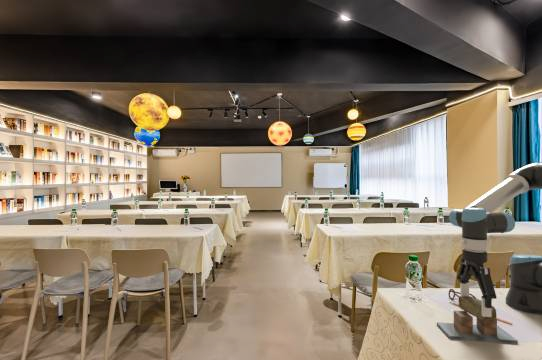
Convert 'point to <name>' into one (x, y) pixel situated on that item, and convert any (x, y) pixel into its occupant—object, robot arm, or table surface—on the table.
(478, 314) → the stone block
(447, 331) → the bridge base
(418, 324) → the table surface
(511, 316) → the table surface
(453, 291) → the glasses
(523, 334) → the table surface
